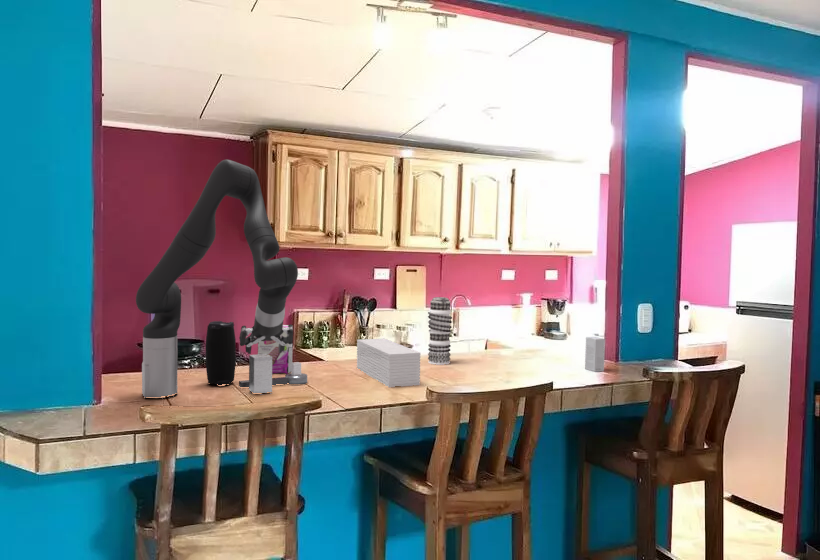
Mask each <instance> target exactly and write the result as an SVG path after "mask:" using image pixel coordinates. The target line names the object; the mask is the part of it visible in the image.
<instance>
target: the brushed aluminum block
mask: <svg viewBox="0 0 820 560" xmlns="http://www.w3.org/2000/svg"><path fill="white" fill-rule="evenodd" d="M248 358H249V359H248V380H249V388H248V391H249V390H250V391H251V392H253V393H267V392H272V393H273V386H272V378H273V373H272V356H270V355H268V354H258V353H257V354H248ZM251 392H250V393H251Z"/></svg>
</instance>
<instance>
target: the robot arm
mask: <svg viewBox="0 0 820 560" xmlns="http://www.w3.org/2000/svg"><path fill="white" fill-rule="evenodd" d="M226 196H227V197H230V198H234V199H237V200H239V201H240V202H241V203H242V204H243V207H244V208H245V211H246V216H245V219H244V223H243V233H244V236H245V240H246V242H247V244H248V247H249V249H250V251H251V255H252V261H253V278H254V282H255V284H256V285H257V287H259V288H260V289H259V291H258V296H257V297H258V298H257V304H256V306H255V316H254V323H253V326H252V327H247V326H246V325H242V326H241V328H240V332H239V337H238V338H239V346H240V347H244V346H245V347H244V349H245V352H246V353H247V355H252V348H253V347H252V346H253V345H258V342H259V341H273V340H274V341H276V342H277V343H279V346H278V349H279V353H282V351H284V349H285V345H286V344H287V343H288V344H292V342H293V341H294V325H293V324H287V325H288V327H283V325H284V319H285V316H286V303H287V298H288V297H289V295H290V294H291V291H292V290H293V288H294V287H295V285H296V283H297V280H298V276H299V269H298V266H297V263H296V262H295V260H293V259H292V258H291V257H287V256H286V257H279V258H274V257H275V256H277V255H278V254H279V251H280V245H279V241H278V239H277V237H276V234H275V232H274V229H273V227H272V225H271V222H270V220H269V218H268V215H267V211H266V210H267V209H266V206H265V201H264V197H263V193H262V188H261V183H260V180H259V176H258V174H257V172H256V171H255V169H253V168H252V167H250V166H248V165H245V164H242V163H239V162H237V161H234V160H231V159H223V160H221V161H220V162H218V163H217V165H216V166H215V167H214V169H213V170H212V172H211V174H210V176H209V178H208V180H207V182H206V183H205V185H204V188H203V190H202V192H201V194H200V196H199V198H198V200H197V201H196V203H195V204H194V206H193V208H192V209H191V211H190V213H189V214H188V216H187V217H186V219H185V221H184V222H183V224H182V225H181V226H180V228H179V229H178V231H177V233H176V235H175V236H174V238H173V240H171V243H170V245H169V246H168V248H167V249H166V251H165V252H164V254H163V256H162V257H161V258H160V260H159V261H158V263H157V264H156V266H155V267H154V268H153V270H152V271H151V272H150V273H149V275H148V276H146V277H145V279H144V280H143V282H142V283H141V284H140V286H139V288H138V289H137V292H136V295H135V303H136V306H137V309H138V310H139V311H140V312H142V313H144V314H148V315H149V314H150V315H151V314H152V315H153V314H154V315H153V319H152V320H151V321H150V322H149V323H148V324H146V325H145V326H144V327H143V328H142V363H141V395H142V394H143V395H142V396H144V397H145V398H146V397H161V396H168V395H172V394H175V393H177V394H178V331H179V328H180V325H181V313H182V312H181V311H182V293H181V290H180V287H179V286H178V284H177V283H176V281H177V280H178V279H179V278H180V277H181V276H182V275H184V274H185V273H186V272H187V271H189V270H190V269H192V268H193V267H194V266H196V265H197V264H198V263H200V261H201V260H203V258H204V257H205V256H206V254H207V253H208V250H210V248H211V247H212V245H213V243H214V241H215V239H216V231H217V228H216V226H217V225H216V212H217V209H218V208H219V206H220V204H221V202H222V201H223V200H224V198H225V197H226ZM272 258H273V259H272ZM283 332H285V333H286V334H287V337H284V336H283V335H282V334H283ZM144 397H143V398H144ZM145 398H144V399H145Z"/></svg>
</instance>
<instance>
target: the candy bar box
mask: <svg viewBox="0 0 820 560" xmlns="http://www.w3.org/2000/svg"><path fill="white" fill-rule="evenodd" d="M288 325H289V324H283V327H288ZM282 335H283V336H284V337H287V334H286V333H285V332H283V334H282ZM293 344H294V343H293V342H292V344H288V343H287V344H286V345H285V349H284V351H282V353H279V349H278V346H279V343H277V342H276V341H274V340H273V341H259V342H258V343H257V354H268V355H270V356H272V374H281V373H285V375H286V374H288V373H289V374H291V373H292V363H293Z"/></svg>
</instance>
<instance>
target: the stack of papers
mask: <svg viewBox="0 0 820 560" xmlns="http://www.w3.org/2000/svg"><path fill="white" fill-rule="evenodd" d="M356 342H357V343H356V369H357V368H358V369H360V370H361V371H360V370H359V371H360V372H362V371H363V372H364V374H365V373H366V374H365V375H367V376H368V377H371V378H372V379H373V380H375V379H376V380H375V381H377V380H378V382H379V383H381V384H382V383H383V384H382V385H384V384H385V385H384V386H386V387H387V386H388V388H396V387H395V386H401V387H411V386H413V385H414V386H420V385H421V383H420V382H421V377H420V376H421V352H420V351H417V350H415V349H412V348H410V347H408V346H405V345H402V344H400V343H397V342H395V341H392V340H389V339H388V338H385V337H384V338H366V339H365V338H363V339H356ZM358 369H357V370H358ZM363 372H362V373H363Z"/></svg>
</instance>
